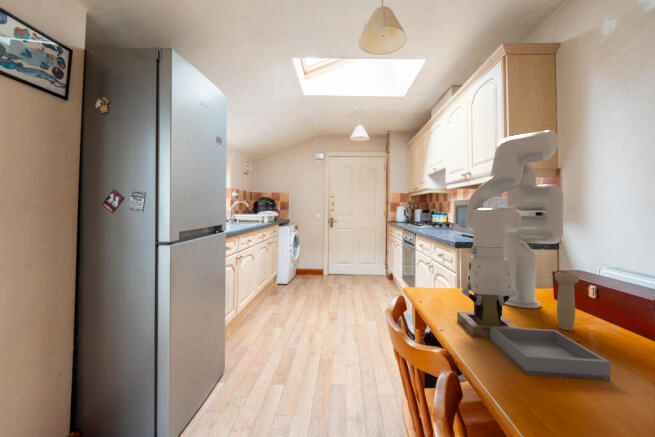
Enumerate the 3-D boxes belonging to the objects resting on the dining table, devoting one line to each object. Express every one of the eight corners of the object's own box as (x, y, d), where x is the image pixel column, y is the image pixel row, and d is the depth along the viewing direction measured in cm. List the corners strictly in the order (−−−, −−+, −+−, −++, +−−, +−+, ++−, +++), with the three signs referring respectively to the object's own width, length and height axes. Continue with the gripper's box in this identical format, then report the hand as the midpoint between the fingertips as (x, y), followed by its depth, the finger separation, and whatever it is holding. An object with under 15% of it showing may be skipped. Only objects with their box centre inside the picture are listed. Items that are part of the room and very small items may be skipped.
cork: (504, 333, 74) (504, 291, 73) (479, 331, 75) (479, 290, 75) (495, 324, 80) (495, 286, 79) (472, 322, 81) (472, 285, 81)
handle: (558, 331, 76) (559, 276, 75) (551, 323, 81) (552, 272, 81) (581, 335, 73) (582, 278, 73) (572, 326, 79) (573, 274, 79)
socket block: (457, 320, 83) (457, 311, 83) (499, 322, 82) (499, 313, 82) (473, 337, 72) (473, 327, 72) (522, 339, 70) (522, 329, 70)
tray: (490, 340, 70) (490, 326, 70) (555, 344, 68) (555, 329, 68) (525, 374, 55) (526, 356, 55) (610, 380, 53) (610, 362, 53)
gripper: (461, 254, 74) (461, 322, 74) (529, 255, 72) (528, 325, 72) (452, 250, 81) (451, 312, 82) (513, 251, 80) (512, 314, 80)
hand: (487, 317), depth 77 cm, fingers closed on cork, 4 cm apart
